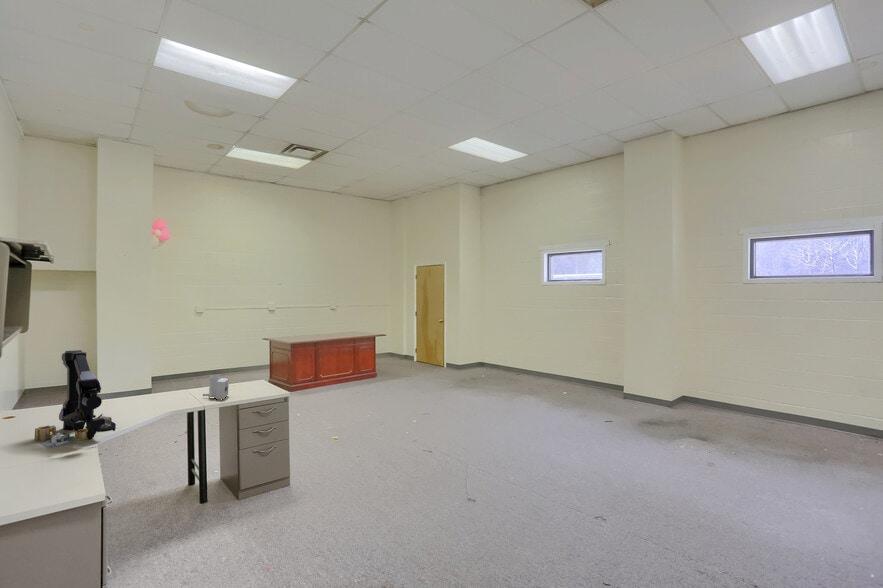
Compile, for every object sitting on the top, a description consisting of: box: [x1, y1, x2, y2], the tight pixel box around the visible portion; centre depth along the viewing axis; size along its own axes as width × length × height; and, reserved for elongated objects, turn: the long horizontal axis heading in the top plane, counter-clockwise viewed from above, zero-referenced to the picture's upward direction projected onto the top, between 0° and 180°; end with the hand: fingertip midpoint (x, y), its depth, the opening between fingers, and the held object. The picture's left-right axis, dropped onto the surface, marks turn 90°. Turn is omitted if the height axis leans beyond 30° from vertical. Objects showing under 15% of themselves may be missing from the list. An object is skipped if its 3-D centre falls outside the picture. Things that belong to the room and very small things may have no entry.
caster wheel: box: [96, 413, 117, 432], centre depth 217 cm, size 7×11×10 cm
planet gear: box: [74, 427, 89, 441], centre depth 202 cm, size 7×7×5 cm
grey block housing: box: [202, 374, 230, 400], centre depth 294 cm, size 12×14×15 cm
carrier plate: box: [37, 436, 77, 449], centre depth 196 cm, size 18×10×5 cm, turn 55°
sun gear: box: [50, 431, 71, 442], centre depth 198 cm, size 6×6×2 cm
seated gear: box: [34, 425, 57, 442], centre depth 198 cm, size 7×7×5 cm
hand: (84, 438), depth 202 cm, fingers open, 8 cm apart
